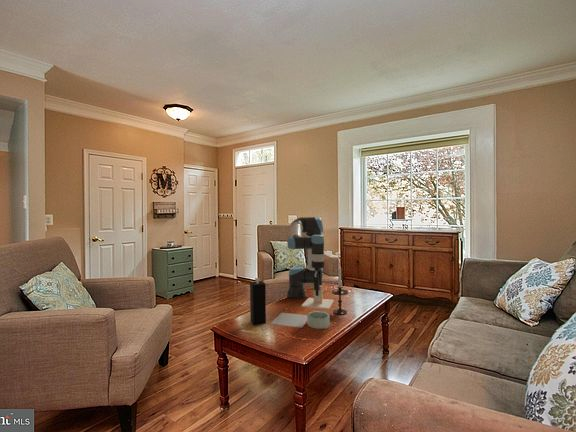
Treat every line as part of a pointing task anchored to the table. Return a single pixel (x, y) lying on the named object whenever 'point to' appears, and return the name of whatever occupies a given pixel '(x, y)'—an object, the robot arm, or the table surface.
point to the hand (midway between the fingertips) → (318, 299)
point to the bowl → (318, 319)
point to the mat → (290, 320)
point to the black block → (257, 302)
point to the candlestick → (339, 292)
